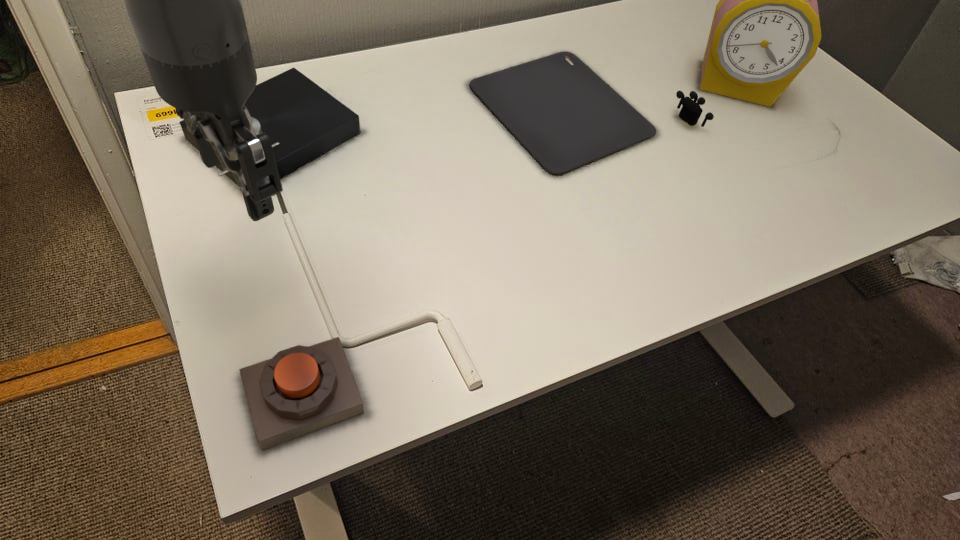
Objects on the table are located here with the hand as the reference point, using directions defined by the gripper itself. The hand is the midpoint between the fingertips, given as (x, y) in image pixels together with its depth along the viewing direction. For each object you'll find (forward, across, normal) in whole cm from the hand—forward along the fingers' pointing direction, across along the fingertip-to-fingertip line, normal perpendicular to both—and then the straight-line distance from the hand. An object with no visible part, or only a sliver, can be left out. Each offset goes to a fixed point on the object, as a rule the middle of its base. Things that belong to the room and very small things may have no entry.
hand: (238, 188), depth 57 cm
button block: (+15, -15, +4) cm, 21 cm away
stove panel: (+14, +19, -12) cm, 27 cm away
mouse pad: (+14, +1, -50) cm, 52 cm away
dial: (+11, +15, -7) cm, 20 cm away
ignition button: (+11, -15, +4) cm, 19 cm away
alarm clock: (+14, -12, -79) cm, 81 cm away
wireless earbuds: (+14, -12, -64) cm, 67 cm away
